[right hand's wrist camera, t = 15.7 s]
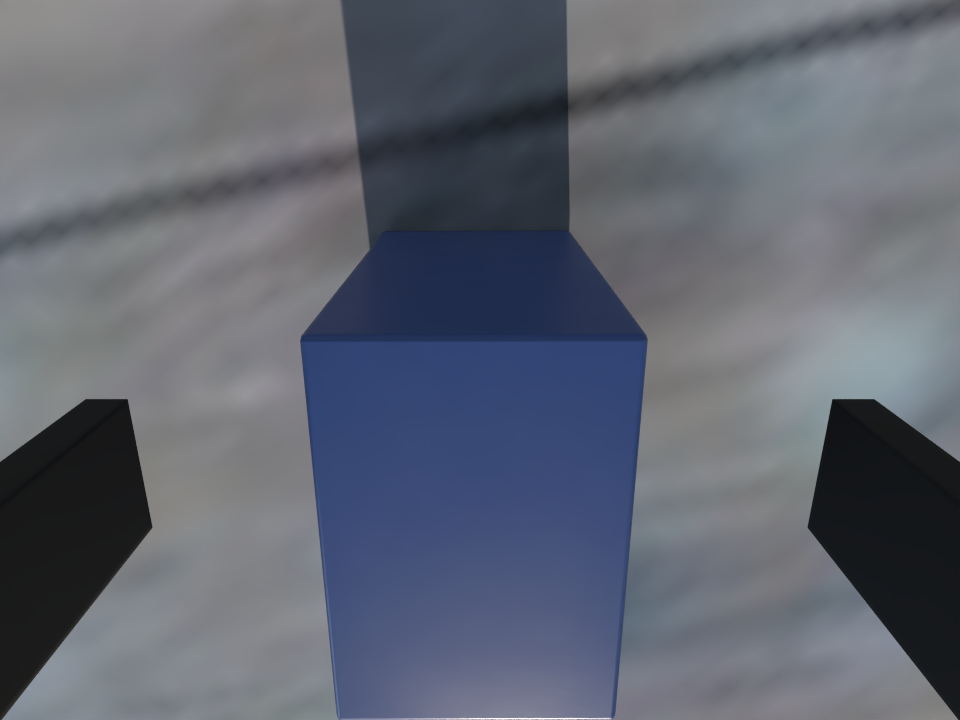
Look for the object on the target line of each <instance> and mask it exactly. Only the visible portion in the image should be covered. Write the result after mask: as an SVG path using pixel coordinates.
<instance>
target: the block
mask: <svg viewBox="0 0 960 720" xmlns="http://www.w3.org/2000/svg"><path fill="white" fill-rule="evenodd" d="M647 341H648V339H647V337H646V334H645V333H644V332H643V330H642V329H641V328H640V326H639V325H638V324H637V322H636V321H635V319H634V318H633V317H632V315H631V314H630V313H629V311H628V310H627V309H626V307H625V306H624V305H623V303H622V302H621V301H620V299H619V298H618V297H617V295H616V294H615V292H614V291H613V290H612V288H611V287H610V286H609V284H608V283H607V282H606V280H605V279H604V278H603V276H602V275H601V274H600V272H599V271H598V270H597V268H596V267H595V265H594V264H593V263H592V261H591V260H590V259H589V257H588V256H587V255H586V253H585V252H584V251H583V249H582V248H581V247H580V245H579V244H578V243H577V241H576V240H575V238H574V237H573V236H572V234H571V233H570V232H569V231H386V232H384V233H383V234H382V235H381V237H380V238H379V239H378V240H377V242H376V243H375V244H374V245H373V247H372V248H371V249H370V250H369V252H368V253H367V254H366V255H365V257H364V258H363V259H362V260H361V262H360V263H359V264H358V265H357V267H356V268H355V269H354V271H353V272H352V273H351V274H350V276H349V277H348V278H347V279H346V281H345V282H344V283H343V284H342V286H341V287H340V288H339V289H338V291H337V292H336V293H335V294H334V296H333V297H332V298H331V300H330V301H329V302H328V303H327V305H326V306H325V307H324V308H323V310H322V311H321V312H320V313H319V315H318V316H317V317H316V318H315V320H314V321H313V322H312V323H311V325H310V326H309V327H308V329H307V330H306V331H305V332H304V334H303V335H302V337H301V340H300V343H301V353H302V364H303V374H304V384H305V394H306V404H307V415H308V425H309V435H310V445H311V455H312V466H313V476H314V486H315V496H316V507H317V517H318V527H319V537H320V547H321V558H322V568H323V578H324V588H325V598H326V609H327V619H328V629H329V639H330V650H331V660H332V670H333V680H334V690H335V701H336V711H337V716H338V718H339V719H340V720H610V719H613V718H614V716H615V710H616V698H617V687H618V675H619V664H620V652H621V641H622V629H623V618H624V606H625V595H626V583H627V572H628V560H629V549H630V537H631V526H632V514H633V503H634V491H635V479H636V468H637V456H638V445H639V433H640V422H641V410H642V399H643V387H644V376H645V364H646V353H647Z"/></svg>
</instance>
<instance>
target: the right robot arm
mask: <svg viewBox="0 0 960 720" xmlns="http://www.w3.org/2000/svg"><path fill="white" fill-rule="evenodd" d="M151 529H152V523H151V518H150V513H149V507H148V502H147V497H146V492H145V487H144V482H143V476H142V471H141V466H140V461H139V456H138V451H137V446H136V440H135V435H134V430H133V425H132V420H131V415H130V410H129V404H128V399H86V400H84V401H83V402H81V403H80V404H79V405H77V406H76V407H75V408H73V409H72V410H71V411H69V412H68V413H66V414H65V415H64V416H62V417H61V418H60V419H58V420H57V421H56V422H54V423H53V424H51V425H50V426H49V427H47V428H46V429H45V430H43V431H42V432H41V433H39V434H38V435H36V436H35V437H34V438H32V439H31V440H30V441H28V442H27V443H26V444H24V445H23V446H21V447H20V448H19V449H17V450H16V451H15V452H13V453H12V454H11V455H9V456H8V457H6V458H5V459H4V460H2V461H1V462H0V720H2V718H3V717H4V716H5V715H6V713H7V712H8V711H9V710H10V708H11V707H12V706H13V704H14V703H15V702H16V701H17V699H18V698H19V697H20V696H21V694H22V693H23V692H24V690H25V689H26V688H27V687H28V685H29V684H30V683H31V682H32V680H33V679H34V678H35V676H36V675H37V674H38V673H39V671H40V670H41V669H42V668H43V666H44V665H45V664H46V662H47V661H48V660H49V659H50V657H51V656H52V655H53V653H54V652H55V651H56V650H57V648H58V647H59V646H60V645H61V643H62V642H63V641H64V639H65V638H66V637H67V636H68V634H69V633H70V632H71V631H72V629H73V628H74V627H75V625H76V624H77V623H78V622H79V620H80V619H81V618H82V617H83V615H84V614H85V613H86V611H87V610H88V609H89V608H90V606H91V605H92V604H93V603H94V601H95V600H96V599H97V597H98V596H99V595H100V594H101V592H102V591H103V590H104V589H105V587H106V586H107V585H108V583H109V582H110V581H111V580H112V578H113V577H114V576H115V575H116V573H117V572H118V571H119V569H120V568H121V567H122V566H123V564H124V563H125V562H126V561H127V559H128V558H129V557H130V555H131V554H132V553H133V552H134V550H135V549H136V548H137V546H138V545H139V544H140V543H141V541H142V540H143V539H144V538H145V536H146V535H147V534H148V532H149V531H150V530H151ZM808 529H809V530H810V531H811V532H812V534H813V535H814V536H815V538H816V539H817V540H818V541H819V543H820V544H821V545H822V546H823V548H824V549H825V550H826V552H827V553H828V554H829V555H830V557H831V558H832V559H833V560H834V562H835V563H836V564H837V566H838V567H839V568H840V569H841V571H842V572H843V573H844V575H845V576H846V577H847V578H848V580H849V581H850V582H851V583H852V585H853V586H854V587H855V589H856V590H857V591H858V592H859V594H860V595H861V596H862V597H863V599H864V600H865V601H866V603H867V604H868V605H869V606H870V608H871V609H872V610H873V611H874V613H875V614H876V615H877V617H878V618H879V619H880V620H881V622H882V623H883V624H884V625H885V627H886V628H887V629H888V631H889V632H890V633H891V634H892V636H893V637H894V638H895V639H896V641H897V642H898V643H899V645H900V646H901V647H902V648H903V650H904V651H905V652H906V653H907V655H908V656H909V657H910V659H911V660H912V661H913V662H914V664H915V665H916V666H917V667H918V669H919V670H920V671H921V673H922V674H923V675H924V676H925V678H926V679H927V680H928V682H929V683H930V684H931V685H932V687H933V688H934V689H935V690H936V692H937V693H938V694H939V696H940V697H941V698H942V699H943V701H944V702H945V703H946V704H947V706H948V707H949V708H950V710H951V711H952V712H953V713H954V715H955V716H956V717H957V718H958V720H960V462H959V461H958V460H956V459H955V458H954V457H952V456H951V455H950V454H948V453H947V452H945V451H944V450H943V449H941V448H940V447H939V446H937V445H936V444H935V443H933V442H932V441H930V440H929V439H928V438H926V437H925V436H924V435H922V434H921V433H920V432H918V431H917V430H915V429H914V428H913V427H911V426H910V425H909V424H907V423H906V422H905V421H903V420H902V419H900V418H899V417H898V416H896V415H895V414H894V413H892V412H891V411H890V410H888V409H887V408H885V407H884V406H883V405H881V404H880V403H879V402H877V401H876V400H875V399H832V404H831V410H830V415H829V420H828V425H827V430H826V435H825V440H824V446H823V451H822V456H821V461H820V466H819V471H818V477H817V482H816V487H815V492H814V497H813V502H812V507H811V513H810V518H809V523H808Z"/></svg>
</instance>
